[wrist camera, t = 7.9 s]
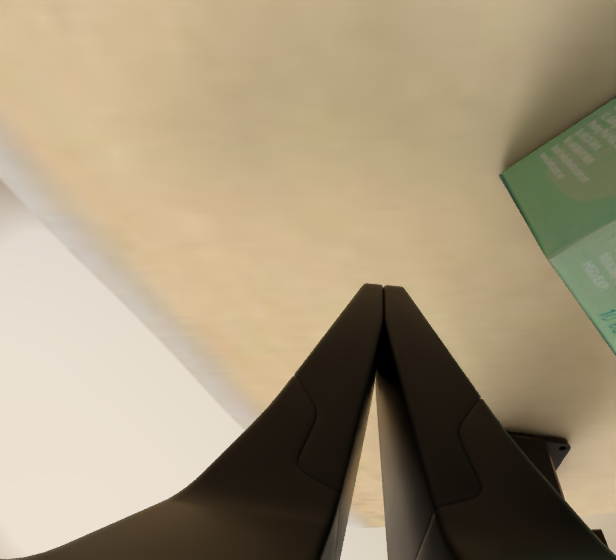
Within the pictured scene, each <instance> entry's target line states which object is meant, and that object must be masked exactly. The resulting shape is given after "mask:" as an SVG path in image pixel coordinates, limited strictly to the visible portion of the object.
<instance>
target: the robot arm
mask: <svg viewBox="0 0 616 560" xmlns="http://www.w3.org/2000/svg"><path fill="white" fill-rule="evenodd" d="M375 377H376V383H375ZM374 384H376V402H377V416H378V429H379V443H380V457H381V471H382V484H383V498H384V512H385V526H386V540H387V553H388V560H616V555H615V554H614V553H613V552H612V551H611V550H610V549H609V548H608V545H607V542H606V540H605V538H604V535H603V533H602V530H601V529H596V530H590V528H589V527H588V526H587V525H586V524H585V523H584V522H583V521H582V519H581V518H580V517H579V516H578V515H577V514H576V512H575V511H574V510H573V509H572V508H571V507H570V506H569V504H568V503H567V502H566V501H565V498H564V495H563V492H562V489H561V486H560V483H559V480H558V477H557V473H556V470H557V468H558V467H559V465H560V464H561V462H562V461H563V459H564V458H565V456H566V455H567V453H568V452H569V450H570V448H571V447H570V445H569V442H568V441H567V440H566V439H560V438H552V437H544V436H536V435H527V434H519V433H511V432H506V430H505V429H504V428H503V426H502V425H501V424H500V422H499V421H498V420H497V418H496V417H495V416H494V414H493V413H492V411H491V410H490V409H489V407H488V406H487V404H486V403H485V402H484V400H483V399H480V398H481V397H480V395H479V393H478V392H477V391H476V389H475V388H474V386H473V385H472V383H471V382H470V381H469V379H468V378H467V376H466V375H465V374H464V372H463V371H462V369H461V368H460V367H459V365H458V364H457V362H456V361H455V359H454V358H453V357H452V355H451V354H450V352H449V351H448V350H447V348H446V347H445V345H444V344H443V343H442V341H441V340H440V338H439V337H438V335H437V334H436V333H435V331H434V330H433V328H432V327H431V326H430V324H429V323H428V321H427V320H426V319H425V317H424V316H423V314H422V313H421V311H420V310H419V309H418V307H417V306H416V304H415V303H414V302H413V300H412V299H411V297H410V296H409V295H408V293H407V292H406V290H405V289H404V288H403V287H400V286H389V285H386V286H384V288H383V286H382V285H378V284H368V283H367V284H364V285H363V286H362V287H361V288H360V290H359V291H358V292H357V294H356V295H355V296H354V297H353V299H352V300H351V301H350V303H349V304H348V305H347V307H346V308H345V309H344V310H343V312H342V313H341V314H340V316H339V317H338V318H337V320H336V321H335V322H334V323H333V325H332V326H331V327H330V329H329V330H328V331H327V333H326V334H325V335H324V337H323V338H322V339H321V340H320V342H319V343H318V344H317V346H316V347H315V348H314V350H313V351H312V352H311V353H310V355H309V356H308V357H307V359H306V360H305V361H304V363H303V364H302V365H301V366H300V368H299V369H298V370H297V372H296V373H295V375H294V376H293V377H292V378H291V379H290V381H289V382H288V383H287V384H286V386H285V387H284V388H283V390H282V391H281V392H280V393H279V394H278V396H277V397H276V398H275V399H274V400H273V402H272V403H271V404H270V405H269V406H268V408H267V409H266V410H265V411H264V412H263V413H262V414H261V415H260V416H259V417H258V418H257V419H256V420H255V421H254V422H253V423H252V424H251V425H250V426H249V427H248V428H247V429H246V430H245V431H244V432H243V433H242V434H241V435H240V436H239V437H238V438H237V439H236V440H235V441H234V442H233V443H232V444H231V445H230V446H229V447H228V448H227V449H226V450H225V451H224V452H223V453H222V454H221V455H220V456H219V457H218V458H217V459H216V460H215V461H214V462H213V463H212V464H211V465H210V466H209V467H208V468H207V469H206V470H205V471H204V472H203V473H202V474H201V475H200V476H199V477H198V478H197V479H196V480H194V481H193V482H192V483H191V484H190V485H188V486H187V487H186V488H184V489H183V490H182V491H180V492H179V493H177V494H176V495H174V496H172V497H171V498H169V499H167V500H165V501H163V502H161V503H158V504H156V505H154V506H151V507H149V508H147V509H144V510H142V511H140V512H138V513H135V514H133V515H131V516H128V517H126V518H124V519H122V520H120V521H117V522H115V523H113V524H110V525H108V526H106V527H104V528H101V529H99V530H97V531H94V532H92V533H90V534H87V535H85V536H83V537H81V538H78V539H76V540H74V541H72V542H69V543H67V544H65V545H62V546H60V547H57V548H55V549H52V550H49V551H47V552H44V553H40V554H36V555H32V556H28V557H24V558H15V559H0V560H340V556H341V551H342V546H343V541H344V536H345V531H346V526H347V521H348V516H349V511H350V506H351V501H352V496H353V491H354V486H355V481H356V476H357V471H358V466H359V461H360V456H361V451H362V446H363V441H364V436H365V431H366V426H367V420H368V415H369V410H370V405H371V400H372V395H373V390H374Z"/></svg>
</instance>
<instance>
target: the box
mask: <svg viewBox="0 0 616 560" xmlns="http://www.w3.org/2000/svg"><path fill="white" fill-rule="evenodd" d="M499 177H500V178H501V180H502V181H503V183H504V185H505V187H506V188H507V190H508V192H509V194H510V195H511V197H512V199H513V201H514V202H515V204H516V206H517V208H518V209H519V211H520V213H521V215H522V216H523V218H524V220H525V221H526V223H527V225H528V227H529V228H530V230H531V232H532V234H533V236H534V237H535V239H536V241H537V243H538V245H539V246H540V248H541V250H542V251H543V253H544V255H545V256H546V258H547V259H548V261H549V262H550V264H551V265H552V266H553V268H554V269H555V270H556V272H557V273H558V275H559V276H560V278H561V279H562V280H563V282H564V283H565V285H566V286H567V287H568V289H569V290H570V292H571V293H572V295H573V296H574V297H575V299H576V300H577V302H578V303H579V304H580V306H581V307H582V309H583V310H584V312H585V313H586V314H587V316H588V317H589V319H590V320H591V321H592V323H593V324H594V326H595V327H596V329H597V330H598V331H599V333H600V334H601V336H602V337H603V338H604V340H605V341H606V343H607V344H608V346H609V347H610V348H611V350H612V351H613V353H614V354H615V355H616V98H614V99H613V100H611V101H610V102H608V103H607V104H605V105H603V106H602V107H600V108H599V109H597V110H596V111H594V112H593V113H591V114H590V115H588V116H587V117H585V118H584V119H582V120H581V121H579V122H578V123H576V124H575V125H573V126H572V127H570V128H569V129H567V130H566V131H564V132H563V133H561V134H560V135H558V136H557V137H555V138H553V139H552V140H550V141H549V142H547V143H546V144H544V145H543V146H541V147H540V148H538V149H537V150H535V151H534V152H532V153H530V154H529V155H527V156H526V157H524V158H523V159H521V160H520V161H518V162H517V163H516V164H514V165H513V166H511V167H510V168H508V169H507V170H506V171H504V172H503V173H501V174H500V175H499Z"/></svg>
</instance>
